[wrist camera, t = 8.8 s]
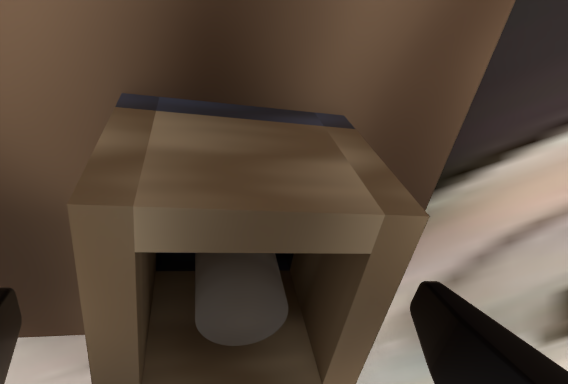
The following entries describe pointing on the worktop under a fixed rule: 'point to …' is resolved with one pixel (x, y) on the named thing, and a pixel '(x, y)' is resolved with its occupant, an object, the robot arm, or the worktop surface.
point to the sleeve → (235, 240)
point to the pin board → (221, 89)
